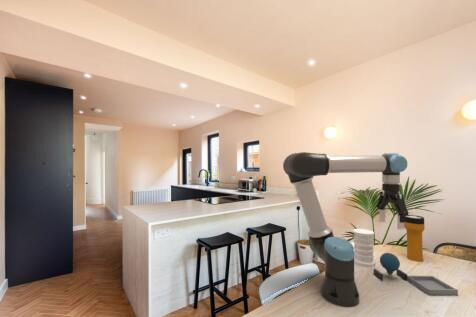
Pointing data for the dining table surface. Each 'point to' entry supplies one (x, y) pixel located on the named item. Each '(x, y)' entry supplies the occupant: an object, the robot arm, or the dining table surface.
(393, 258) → the light bulb
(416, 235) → the flashlight
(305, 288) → the dining table surface
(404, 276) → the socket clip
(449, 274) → the dining table surface
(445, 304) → the dining table surface
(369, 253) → the decorative container
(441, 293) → the parts tray
